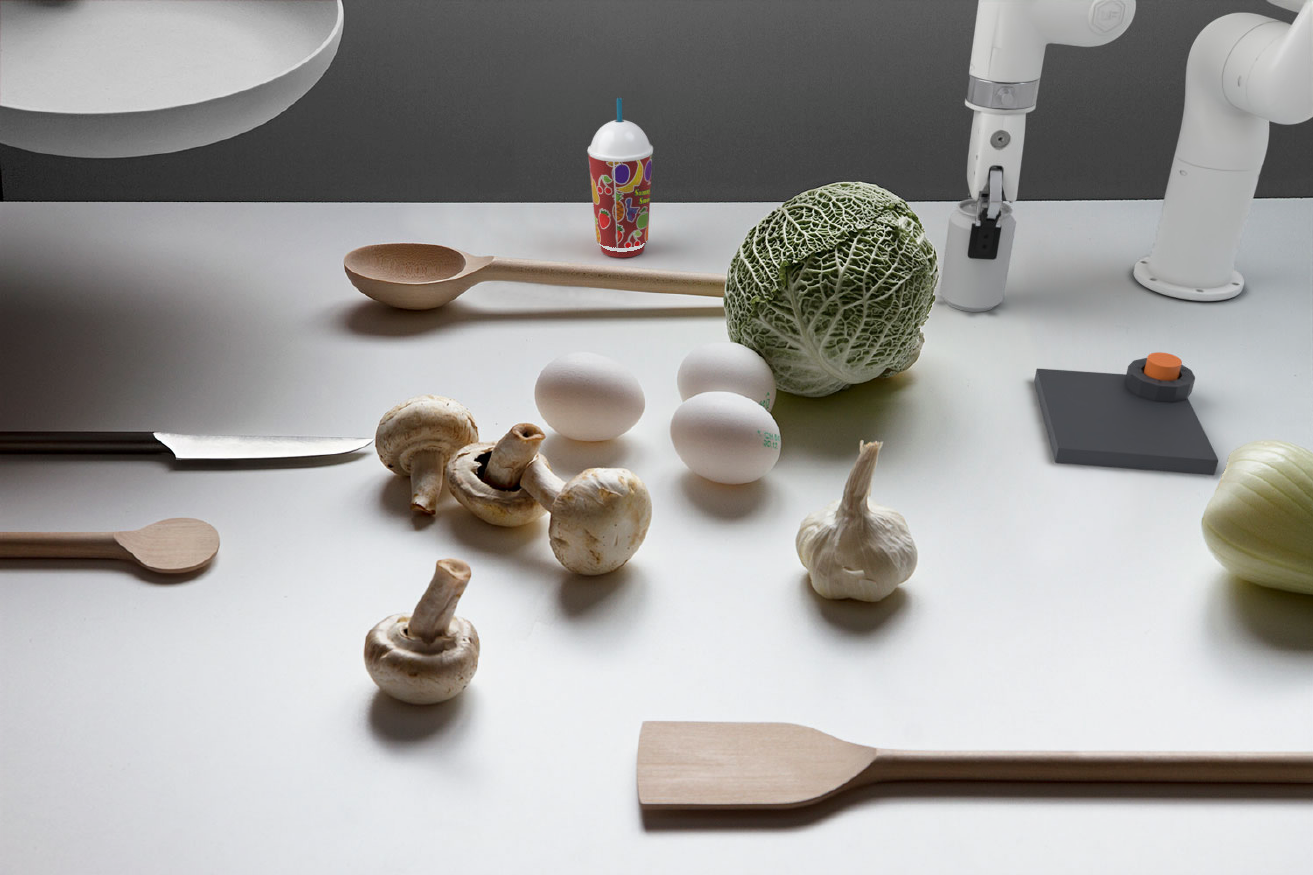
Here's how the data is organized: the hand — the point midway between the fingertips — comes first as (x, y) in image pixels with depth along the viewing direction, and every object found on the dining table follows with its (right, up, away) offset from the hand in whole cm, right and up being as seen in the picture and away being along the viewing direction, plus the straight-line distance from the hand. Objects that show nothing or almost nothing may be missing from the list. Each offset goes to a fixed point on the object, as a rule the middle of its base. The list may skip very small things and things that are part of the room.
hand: (978, 244), depth 132 cm
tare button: (+13, -16, -19) cm, 28 cm away
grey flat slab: (+7, -21, -21) cm, 31 cm away
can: (0, -6, +4) cm, 8 cm away
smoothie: (-42, +2, +19) cm, 46 cm away
